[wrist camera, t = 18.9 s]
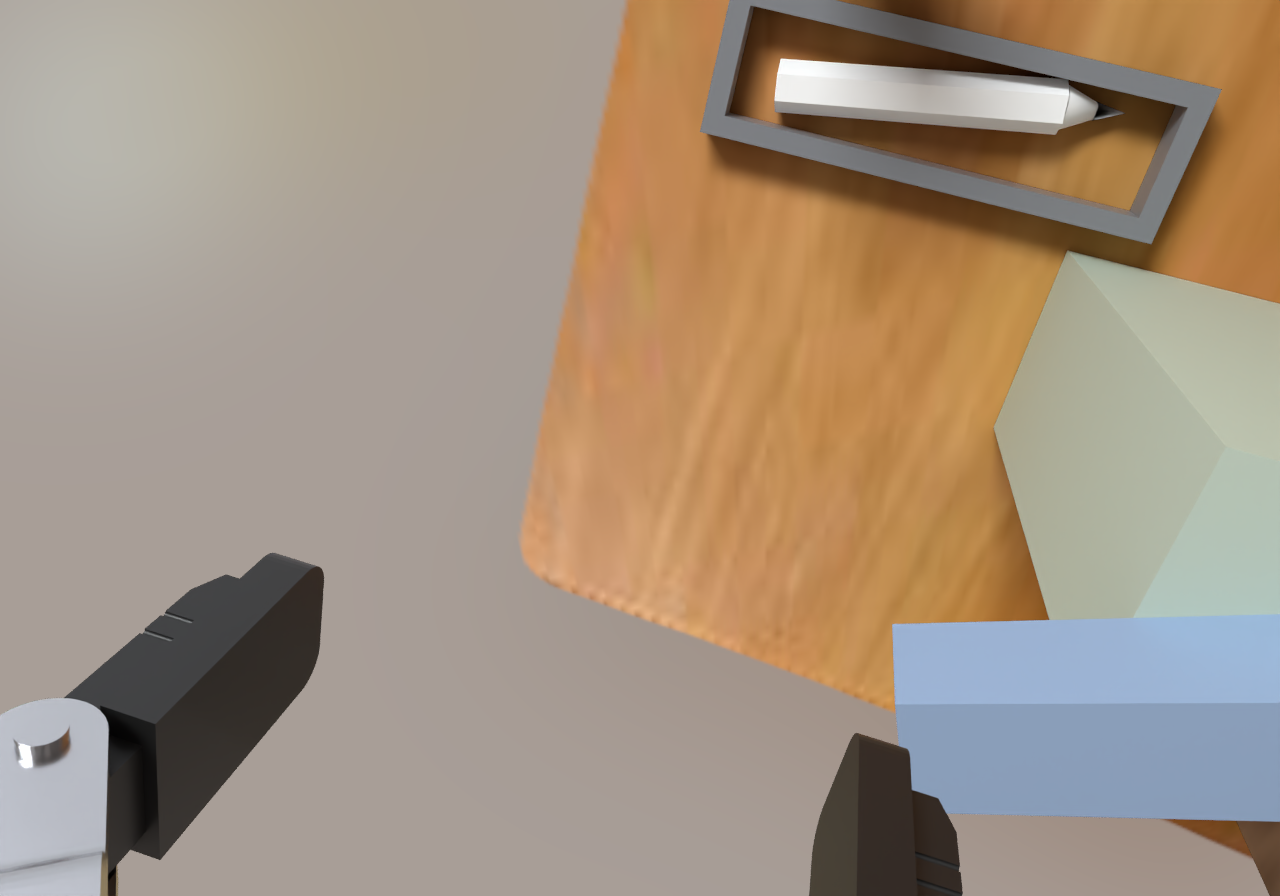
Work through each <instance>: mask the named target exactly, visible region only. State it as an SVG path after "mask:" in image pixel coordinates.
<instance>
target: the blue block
mask: <svg viewBox="0 0 1280 896" xmlns="http://www.w3.org/2000/svg"><path fill="white" fill-rule="evenodd" d="M892 627H893V657H894V687H895V709H896V719H897V730H898V741H899V746H900V747H903V748H907V749H908V750H909V753H910V763H911V782H912V790H914V791H917V792H920V793H924V794H927V795H930V796H933V797H936V798H938V799H939V801H940V802H941V804H942V806H943V808H944V810H945V812H946V813H950V814H990V815H1030V816H1032V815H1033V816H1071V817H1072V816H1074V817H1111V818H1112V817H1113V818H1150V819H1151V818H1152V819H1191V820H1231V821H1271V822H1280V614H1268V615H1229V616H1190V617H1152V618H1113V619H1074V620H1035V621H996V622H957V623H918V624H892Z"/></svg>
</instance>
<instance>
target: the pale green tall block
mask: <svg viewBox="0 0 1280 896" xmlns="http://www.w3.org/2000/svg"><path fill="white" fill-rule="evenodd" d="M994 431H995V434H996V438H997V441H998V445H999V448H1000V451H1001V455H1002V458H1003V462H1004V465H1005V469H1006V472H1007V476H1008V479H1009V482H1010V486H1011V489H1012V493H1013V496H1014V500H1015V503H1016V507H1017V510H1018V513H1019V517H1020V520H1021V524H1022V527H1023V531H1024V534H1025V538H1026V541H1027V544H1028V548H1029V551H1030V555H1031V558H1032V562H1033V565H1034V569H1035V572H1036V575H1037V579H1038V582H1039V586H1040V589H1041V593H1042V596H1043V599H1044V603H1045V606H1046V610H1047V613H1048V617H1049V620H1074V619H1113V618H1152V617H1190V616H1229V615H1268V614H1280V304H1278V303H1274V302H1270V301H1266V300H1262V299H1258V298H1254V297H1250V296H1246V295H1242V294H1239V293H1235V292H1231V291H1227V290H1223V289H1219V288H1215V287H1211V286H1207V285H1203V284H1199V283H1195V282H1191V281H1187V280H1183V279H1179V278H1175V277H1171V276H1167V275H1163V274H1159V273H1155V272H1151V271H1147V270H1143V269H1139V268H1135V267H1131V266H1128V265H1124V264H1120V263H1116V262H1112V261H1108V260H1104V259H1100V258H1096V257H1092V256H1088V255H1084V254H1080V253H1076V252H1072V251H1068V250H1067V253H1066V255H1065V257H1064V260H1063V262H1062V265H1061V267H1060V269H1059V272H1058V274H1057V277H1056V279H1055V281H1054V284H1053V286H1052V289H1051V291H1050V293H1049V296H1048V298H1047V301H1046V303H1045V305H1044V308H1043V310H1042V313H1041V315H1040V317H1039V320H1038V322H1037V325H1036V327H1035V329H1034V332H1033V334H1032V337H1031V339H1030V341H1029V344H1028V346H1027V349H1026V351H1025V353H1024V356H1023V358H1022V361H1021V363H1020V366H1019V368H1018V370H1017V373H1016V375H1015V378H1014V380H1013V382H1012V385H1011V387H1010V390H1009V392H1008V394H1007V397H1006V399H1005V402H1004V404H1003V406H1002V409H1001V411H1000V414H999V416H998V418H997V421H996V423H995V426H994Z"/></svg>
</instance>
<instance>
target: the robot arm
mask: <svg viewBox="0 0 1280 896" xmlns="http://www.w3.org/2000/svg"><path fill="white" fill-rule="evenodd" d="M323 587H324V574H323V571H322V569H321V568H320V567H318V566H315V565H311V564H308V563H305V562H302V561H299V560H295V559H292V558H289V557H286V556H283V555H279V554H276V553H270V554H268V555H266V556H265V557H264V558H262V559H261V560H260V561H259V562H258V563H257V564H256V565H255V566H254V567H252V568H251V569H250V570H249V571H248V572H247V573H246V574H245V575H244V576H242V577H241V578H240V579H238V578H235V577H232V576H229V575H224V576H222V577H219V578H217V579H214V580H212V581H210V582H207V583H205V584H203V585H200V586H198V587H196V588H193V589H191V590H190V591H189V592H188V593H186V594H185V595H184V596H183V597H182V598H180V599H179V600H178V601H177V602H176V603H175V604H174V605H172V606H171V607H170V608H169V609H168V610H166V612H165V615H164V616H159V617H158V618H157V619H156V620H155V621H154V622H152V623H151V624H150V625H149V626H148V627H147V628H145V631H144V633H143V634H138V635H137V636H136V637H135V638H134V639H132V640H131V641H130V642H129V643H128V644H127V645H125V646H124V647H123V648H122V649H121V650H120V651H118V652H117V653H116V654H115V655H114V656H113V657H111V658H110V659H109V660H108V661H107V662H106V663H104V664H103V665H102V666H101V667H100V668H99V669H97V670H96V671H95V672H94V673H93V674H92V675H90V676H89V677H88V678H87V679H86V680H84V681H83V682H82V683H81V684H80V685H79V686H78V687H76V688H75V689H74V690H73V691H72V692H70V693H69V694H68V695H67V696H66V697H65V698H50V699H43V700H37V701H32V702H29V703H25V704H22V705H20V706H17V707H15V708H12V709H10V710H8V711H6V712H4V713H3V714H1V715H0V896H118V869H117V864H118V863H119V862H120V861H121V860H122V858H123V857H124V856H125V855H126V854H127V853H128V852H129V850H133V851H136V852H139V853H142V854H145V855H147V856H150V857H153V858H156V859H159V860H161V858H162V857H163V856H164V855H165V854H166V852H167V851H168V850H169V849H170V848H171V846H172V845H173V844H174V843H175V842H176V840H177V839H178V838H179V837H180V836H181V834H182V833H183V832H184V831H185V830H186V828H187V827H188V826H189V824H191V822H192V821H193V820H194V819H195V818H196V816H197V815H198V814H199V813H200V811H201V810H202V809H203V808H204V807H205V806H206V804H207V803H208V802H209V801H210V800H211V798H212V797H213V796H214V795H215V794H216V792H217V791H218V790H219V789H220V788H221V786H222V785H223V784H224V783H225V782H226V780H227V779H228V778H229V777H230V776H231V775H232V773H233V772H234V771H235V770H236V769H237V767H238V766H239V765H240V764H241V763H242V761H243V760H244V759H245V758H246V757H247V755H248V754H249V753H250V752H251V750H252V749H253V748H254V747H255V746H256V745H257V743H258V742H259V741H260V740H261V739H262V737H263V736H264V735H265V734H266V733H267V731H268V730H269V729H270V728H271V726H272V725H273V724H274V723H275V722H276V721H277V719H278V718H279V717H280V716H281V715H282V713H283V712H284V711H285V710H286V708H287V707H288V706H289V705H290V704H291V703H292V701H293V700H294V699H295V698H296V697H297V695H298V694H299V693H300V692H301V691H302V689H303V688H304V686H305V685H306V683H307V682H308V680H309V678H310V676H311V674H312V672H313V669H314V667H315V664H316V661H317V657H318V654H319V647H320V633H321V618H322V617H321V616H322V603H323ZM959 866H960V863H959V854H958V845H957V834H956V831H955V829H954V827H953V825H952V823H951V821H950V819H949V817H948V816H947V814H946V812H945V810H944V808H943V806H942V804H941V802H940V801H939V799H938V798H936V797H933V796H930V795H927V794H924V793H920V792H917V791H914V790H912V782H911V763H910V753H909V750H908V749H907V748H903V747H900V746H897V745H894V744H890V743H887V742H884V741H881V740H877V739H875V738H871V737H868V736H865V735H861V734H859V733H855V734H854V735H853V737H852V739H851V741H850V743H849V745H848V748H847V750H846V753H845V755H844V757H843V760H842V762H841V765H840V767H839V770H838V772H837V775H836V777H835V780H834V782H833V784H832V787H831V789H830V792H829V794H828V797H827V799H826V802H825V804H824V806H823V809H822V812H821V815H820V818H819V822H818V826H817V830H816V834H815V839H814V845H813V852H812V865H811V879H810V893H809V896H962V893H963V892H962V883H961V873H960V872H959Z"/></svg>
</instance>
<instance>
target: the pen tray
mask: <svg viewBox="0 0 1280 896" xmlns="http://www.w3.org/2000/svg"><path fill="white" fill-rule="evenodd" d="M754 6H755V7H760V8H764V9H768V10H772V11H777V12H781V13H785V14H790V15H794V16H798V17H802V18H807V19H811V20H815V21H820V22H824V23H828V24H832V25H837V26H841V27H845V28H850V29H854V30H858V31H862V32H867V33H871V34H875V35H879V36H884V37H888V38H892V39H897V40H901V41H905V42H909V43H914V44H918V45H922V46H927V47H931V48H935V49H939V50H944V51H948V52H952V53H957V54H961V55H965V56H969V57H974V58H978V59H982V60H987V61H991V62H995V63H999V64H1004V65H1008V66H1012V67H1016V68H1021V69H1025V70H1029V71H1034V72H1038V73H1042V74H1046V75H1051V76H1055V77H1059V78H1064V79H1068V80H1072V81H1076V82H1081V83H1085V84H1089V85H1094V86H1098V87H1102V88H1106V89H1111V90H1115V91H1119V92H1124V93H1128V94H1132V95H1136V96H1141V97H1145V98H1149V99H1154V100H1158V101H1162V102H1166V103H1171V104H1175V105H1176V106H1175V109H1174V111H1173V113H1172V116H1171V118H1170V120H1169V122H1168V125H1167V127H1166V129H1165V132H1164V134H1163V136H1162V138H1161V141H1160V143H1159V145H1158V147H1157V150H1156V152H1155V154H1154V157H1153V159H1152V161H1151V163H1150V166H1149V168H1148V170H1147V173H1146V175H1145V177H1144V179H1143V182H1142V184H1141V186H1140V189H1139V191H1138V193H1137V195H1136V198H1135V200H1134V202H1133V205H1132V207H1131V209H1130V211H1128V210H1124V209H1120V208H1116V207H1112V206H1108V205H1104V204H1100V203H1096V202H1092V201H1088V200H1083V199H1079V198H1075V197H1071V196H1067V195H1063V194H1059V193H1055V192H1051V191H1047V190H1043V189H1039V188H1035V187H1031V186H1027V185H1023V184H1018V183H1014V182H1010V181H1006V180H1002V179H998V178H994V177H990V176H986V175H982V174H978V173H974V172H970V171H966V170H962V169H958V168H953V167H949V166H945V165H941V164H937V163H933V162H929V161H925V160H921V159H917V158H913V157H909V156H905V155H901V154H897V153H893V152H889V151H884V150H880V149H876V148H872V147H868V146H864V145H860V144H856V143H852V142H848V141H844V140H840V139H836V138H832V137H828V136H824V135H819V134H815V133H811V132H807V131H803V130H799V129H795V128H791V127H787V126H783V125H779V124H775V123H771V122H767V121H763V120H759V119H754V118H750V117H746V116H742V115H738V114H734V113H730V108H731V103H732V99H733V95H734V91H735V87H736V82H737V78H738V74H739V70H740V65H741V61H742V57H743V53H744V48H745V44H746V40H747V36H748V31H749V27H750V23H751V19H752V15H753V10H754ZM1221 90H1222V89H1218V88H1214V87H1209V86H1205V85H1201V84H1196V83H1192V82H1188V81H1183V80H1179V79H1175V78H1170V77H1166V76H1162V75H1157V74H1153V73H1149V72H1144V71H1140V70H1136V69H1131V68H1127V67H1123V66H1118V65H1114V64H1110V63H1105V62H1101V61H1097V60H1092V59H1088V58H1084V57H1079V56H1075V55H1071V54H1066V53H1062V52H1058V51H1053V50H1049V49H1045V48H1040V47H1036V46H1032V45H1027V44H1023V43H1019V42H1014V41H1010V40H1006V39H1001V38H997V37H993V36H988V35H984V34H980V33H975V32H971V31H967V30H962V29H958V28H954V27H949V26H945V25H941V24H936V23H932V22H928V21H923V20H919V19H915V18H910V17H906V16H902V15H897V14H893V13H889V12H884V11H880V10H876V9H871V8H867V7H863V6H858V5H854V4H850V3H845V2H841V1H837V0H730V1H729V6H728V10H727V14H726V19H725V23H724V28H723V32H722V37H721V41H720V46H719V50H718V55H717V59H716V63H715V68H714V72H713V77H712V81H711V86H710V90H709V95H708V99H707V103H706V108H705V112H704V117H703V121H702V126H701V130H700V132H703V133H707V134H711V135H715V136H719V137H723V138H727V139H731V140H735V141H739V142H743V143H747V144H751V145H755V146H759V147H763V148H767V149H771V150H775V151H779V152H783V153H787V154H791V155H795V156H799V157H803V158H807V159H811V160H815V161H819V162H823V163H827V164H831V165H835V166H839V167H843V168H847V169H851V170H855V171H859V172H863V173H867V174H871V175H875V176H879V177H883V178H887V179H891V180H895V181H899V182H903V183H907V184H911V185H915V186H919V187H923V188H927V189H931V190H935V191H939V192H943V193H947V194H951V195H955V196H959V197H963V198H967V199H971V200H975V201H979V202H983V203H987V204H991V205H996V206H1000V207H1004V208H1008V209H1012V210H1016V211H1020V212H1024V213H1028V214H1032V215H1036V216H1040V217H1044V218H1048V219H1052V220H1056V221H1060V222H1064V223H1068V224H1072V225H1076V226H1080V227H1084V228H1088V229H1092V230H1096V231H1100V232H1104V233H1108V234H1112V235H1116V236H1120V237H1124V238H1128V239H1132V240H1136V241H1140V242H1144V243H1148V244H1152V242H1153V239H1154V237H1155V235H1156V233H1157V231H1158V228H1159V226H1160V224H1161V222H1162V220H1163V217H1164V215H1165V213H1166V211H1167V209H1168V206H1169V204H1170V202H1171V200H1172V198H1173V195H1174V193H1175V191H1176V189H1177V187H1178V184H1179V182H1180V180H1181V178H1182V176H1183V174H1184V171H1185V169H1186V167H1187V165H1188V163H1189V160H1190V158H1191V156H1192V154H1193V152H1194V149H1195V147H1196V145H1197V143H1198V141H1199V138H1200V136H1201V134H1202V132H1203V130H1204V127H1205V125H1206V123H1207V121H1208V119H1209V116H1210V114H1211V112H1212V110H1213V108H1214V105H1215V103H1216V101H1217V99H1218V97H1219V94H1220V92H1221Z"/></svg>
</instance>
